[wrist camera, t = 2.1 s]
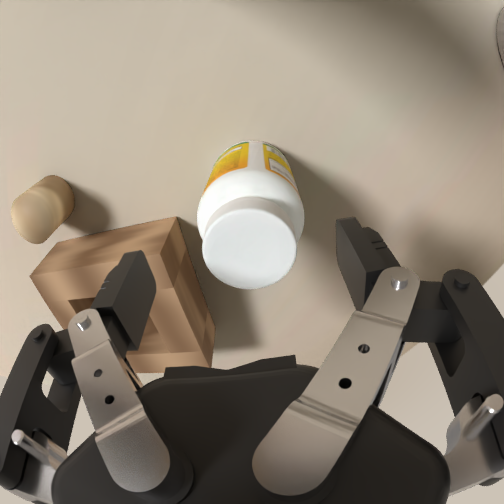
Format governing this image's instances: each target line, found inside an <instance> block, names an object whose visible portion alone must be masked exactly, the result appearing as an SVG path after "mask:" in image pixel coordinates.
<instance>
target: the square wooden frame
mask: <svg viewBox="0 0 504 504" xmlns="http://www.w3.org/2000/svg"><path fill="white" fill-rule="evenodd" d="M138 250H142V251H143V252H144V254H145V256H146V259H147V261H148V264H149V266H150V269H151V271H152V273H153V276H154V278H155V281H156V295H155V298H154V301H153V304H152V307H151V310H150V313H149V317H148V320H147V323H146V326H145V329H144V333H143V336H142V339H141V343H140V346H139V350H138V351H127V353H126V357H127V358H128V360H129V362H130V363H131V365H132V367H133V369H134V371H135V372H136V373H165V368H166V367H179V366H201V367H208V368H211V366H212V356H213V347H214V338H215V329H216V328H215V325H214V323H213V320H212V318H211V315H210V312H209V309H208V307H207V304H206V301H205V299H204V296H203V293H202V290H201V288H200V285H199V282H198V279H197V276H196V273H195V271H194V268H193V265H192V262H191V259H190V256H189V253H188V250H187V247H186V244H185V241H184V238H183V235H182V232H181V229H180V226H179V223H178V220H177V217H172V218H167V219H162V220H157V221H152V222H147V223H142V224H137V225H133V226H128V227H123V228H119V229H114V230H110V231H105V232H101V233H96V234H92V235H87V236H83V237H79V238H75V239H71V240H66V241H62V242H58V243H57V244H56V245H55V246H54V247H53V248H52V249H51V251H50V252H49V253H48V254H47V255H46V257H45V258H44V259H43V260H42V261H41V263H40V264H39V265H38V266H37V268H36V269H35V270H34V271H33V273H32V274H31V275H30V278H31V279H32V281H33V283H34V285H35V286H36V288H37V290H38V291H39V293H40V294H41V296H42V298H43V299H44V301H45V302H46V304H47V306H48V307H49V309H50V310H51V312H52V313H53V315H54V316H55V318H56V319H57V321H58V322H59V323H60V325H61V326H62V328H63V329H64V330H65V329H68V325H69V322H70V321H71V319H72V318H73V317H74V316H75V315H76V314H77V313H79V312H81V311H83V310H86V309H90V307H91V305H92V303H93V301H94V299H95V297H96V295H97V293H98V291H99V290H100V289H101V286H102V284H103V283H104V280H105V278H106V276H107V275H108V273H109V272H110V271H111V270H112V269H113V268H114V267H115V266H117V265H118V263H119V262H120V260H121V258H122V256H123V254H124V253H126V252H132V251H138Z"/></svg>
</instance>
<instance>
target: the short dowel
mask: <svg viewBox="0 0 504 504" xmlns="http://www.w3.org/2000/svg"><path fill="white" fill-rule="evenodd" d="M74 205H75V200H74V194H73V191H72V189H71V187H70V186H69V184H68V183H67V182H66V181H65V180H64V179H62V178H61V177H58V176H55V175H50V176H47V177H45V178H43V179H42V180H41V181H39V182H38V183H36V184H35V185H34V186H32V187H31V188H29V189H28V190H27V191H25V192H24V193H23V194H21V195H20V196H19V197H18V198H16V199H15V200H14V202H13V204H12V208H11V217H12V221H13V224H14V226H15V228H16V230H17V232H18V233H19V234H20V235H21V236H22V237H23V238H24V239H25V240H27V241H28V242H31V243H34V244H41V243H43V242H45V241H46V240H47V239H48V238H49V236H50V235H51V234H52V233H53V232H54V231H55V230H56V229H57V228H58V227H59V226H60V225H61V224H62V223H63V222H64V221H65V220H66V219H67V218H68V217H69V216H70V214H71V213H72V212H73V209H74Z"/></svg>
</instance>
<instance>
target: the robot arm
mask: <svg viewBox="0 0 504 504" xmlns="http://www.w3.org/2000/svg"><path fill="white" fill-rule="evenodd" d="M497 41H498V46H499V52H500V55H501V59H502V62H503V65H504V8H503V9H502V11H501V12H500V14H499V18H498V21H497ZM336 248H337V260H338V265H339V268H340V271H341V273H342V275H343V278H344V280H345V283H346V285H347V288H348V290H349V293H350V295H351V298H352V300H353V303H354V306H355V308H356V310H355V311H354V313H353V314H352V316H351V317H350V319H349V321H348V323H347V324H346V326H345V328H344V329H343V331H342V333H341V334H340V336H339V338H338V339H337V341H336V343H335V344H334V346H333V348H332V349H331V351H330V352H329V354H328V356H327V357H326V359H325V360H324V362H323V363H322V365H321V367H320V368H316V367H312V366H307V365H300V364H296V358H295V355H290V356H283V357H276V358H268V359H261V360H258V361H255V362H252V363H249V364H246V365H243V366H239V367H236V368H233V369H229V370H222V369H215V368H208V367H201V366H179V367H166V368H165V373H164V377H162V378H159V379H156V380H154V381H152V382H149V383H148V384H146V385H144V386H143V384H142V383H141V381H140V379H139V378H138V376H137V374H136V372H135V371H134V369H133V367H132V365H131V363H130V362H129V360H128V358H127V357H126V353H127V351H138V350H139V346H140V343H141V339H142V336H143V333H144V329H145V326H146V323H147V320H148V317H149V313H150V310H151V307H152V304H153V301H154V298H155V295H156V281H155V278H154V276H153V273H152V271H151V269H150V266H149V264H148V261H147V259H146V256H145V254H144V252H143V251H142V250H138V251H132V252H126V253H124V254H123V256H122V258H121V260H120V262H119V263H118V265H117V266H115V267H114V268H113V269H112V270H111V271H110V272H109V273H108V275H107V276H106V278H105V280H104V283H103V284H102V286H101V289H100V290H99V291H98V293H97V295H96V297H95V299H94V301H93V303H92V305H91V307H90V309H86V310H83V311H81V312H79V313H77V314H76V315H75V316H74V317H73V318H72V319H71V321H70V322H69V325H68V329H65V330H62V331H59V332H56V333H55V331H54V330H53V329H52V327H51V326H50V325H49V324H42V325H39V326H37V327H36V328H34V329H33V330H32V331H31V332H30V334H29V335H28V337H27V338H26V340H25V342H24V344H23V346H22V349H21V351H20V353H19V355H18V357H17V359H16V361H15V363H14V365H13V368H12V370H11V372H10V374H9V377H8V379H7V381H6V384H5V386H4V388H3V391H2V393H1V396H0V485H1V486H2V487H3V488H4V489H6V490H8V491H9V492H11V493H13V494H15V495H17V496H19V497H21V498H23V499H25V500H27V501H31V502H33V503H35V504H446V501H447V499H448V497H449V496H451V495H454V494H456V493H459V492H461V491H464V490H466V489H468V488H471V487H473V486H475V485H478V484H479V485H482V486H489V485H492V484H494V483H496V482H498V481H499V480H501V479H502V478H504V318H503V317H502V315H501V314H500V312H499V311H498V309H497V308H496V306H495V304H494V303H493V301H492V300H491V299H490V297H489V295H488V294H487V292H486V291H485V290H484V288H483V287H482V285H481V284H480V282H479V281H478V280H477V278H476V277H475V276H474V275H472V274H471V273H469V272H467V271H464V270H459V269H455V270H450V271H448V272H446V273H445V274H444V276H443V279H442V282H427V281H420V279H419V277H418V275H417V274H416V273H415V272H414V271H412V270H410V269H408V268H404V267H401V266H400V264H399V263H398V261H397V260H396V258H395V257H394V255H393V254H392V252H391V251H390V249H389V248H388V247H387V245H386V244H385V242H383V239H382V238H381V236H380V235H379V233H377V232H376V231H374V230H373V229H371V228H369V227H367V228H362V227H361V225H360V224H359V222H358V221H357V219H356V218H355V217H350V218H343V219H337V220H336ZM405 342H427V343H428V346H429V348H430V350H431V353H432V355H433V357H434V360H435V363H436V365H437V368H438V371H439V373H440V376H441V378H442V381H443V384H444V387H445V389H446V392H447V395H448V398H449V400H450V404H451V407H452V409H453V413H454V416H455V418H454V420H453V421H452V422H451V423H450V425H449V427H448V429H447V435H446V437H447V450H446V453H445V455H444V456H443V455H442V454H441V452H440V451H439V450H438V449H437V448H436V447H434V446H433V445H432V444H430V443H429V442H427V441H426V440H424V439H423V438H421V437H420V436H418V435H417V434H415V433H414V432H412V431H411V430H409V429H408V428H407V427H405V426H404V425H402V424H401V423H399V422H398V421H396V420H395V419H394V418H392V417H391V416H389V415H388V414H386V413H385V412H384V411H382V410H381V409H379V406H380V403H381V401H382V399H383V397H384V395H385V392H386V389H387V387H388V384H389V382H390V380H391V377H392V375H393V372H394V370H395V368H396V365H397V363H398V360H399V358H400V355H401V353H402V350H403V348H404V345H405ZM46 371H48V372H49V373H50V374H51V376H52V377H53V378H54V380H53V383H52V385H51V388H50V391H49V394H48V397H47V398H46V397H45V395H44V394H43V392H42V382H43V379H44V376H45V374H46ZM81 394H82V397H83V400H84V402H85V405H86V408H87V411H88V413H89V416H90V419H91V421H92V424H93V426H94V429H95V432H94V433H93V434H92V435H91V436H89V438H87V439H86V440H85V441H84V442H83V443H82V444H81V445H80V446H79V447H78V448H77V449H76V450H75V451H74V452H73V453H72V454H71V455H70V456H67V450H68V446H69V441H70V437H71V433H72V428H73V424H74V420H75V416H76V412H77V408H78V405H79V401H80V398H81Z"/></svg>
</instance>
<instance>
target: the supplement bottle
mask: <svg viewBox="0 0 504 504" xmlns="http://www.w3.org/2000/svg"><path fill="white" fill-rule="evenodd" d="M197 224H198V230H199V233H200V236H201V238H202V240H203V244H202V252H203V258H204V261H205V263H206V265H207V267H208V269H209V270H210V272H211V273H212V274H213V275H214V276H215V277H216V278H218V279H219V280H220V281H222V282H224V283H225V284H227V285H230V286H232V287H236V288H240V289H259V288H264V287H267V286H269V285H272V284H274V283H276V282H278V281H279V280H281V279H282V278H283V277H284V276H285V275H286V274H287V273H288V272H289V271H290V269H291V268H292V266H293V264H294V262H295V259H296V255H297V242H298V241H299V239H300V237H301V234H302V231H303V227H304V208H303V204H302V201H301V198H300V195H299V192H298V189H297V186H296V183H295V180H294V177H293V174H292V171H291V168H290V166H289V163H288V161H287V160H286V158H285V156H284V155H283V154H282V153H281V152H280V151H279V150H278V149H277V148H275V147H274V146H272V145H270V144H268V143H265V142H261V141H255V140H250V141H242V142H239V143H237V144H234V145H233V146H231V147H229V148H228V149H226V150H225V151H224V152H223V153H222V154H221V155H220V157H219V158H218V159H217V161H216V163H215V165H214V167H213V170H212V172H211V175H210V178H209V180H208V183H207V185H206V188H205V190H204V192H203V195H202V197H201V200H200V203H199V206H198V211H197Z"/></svg>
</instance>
